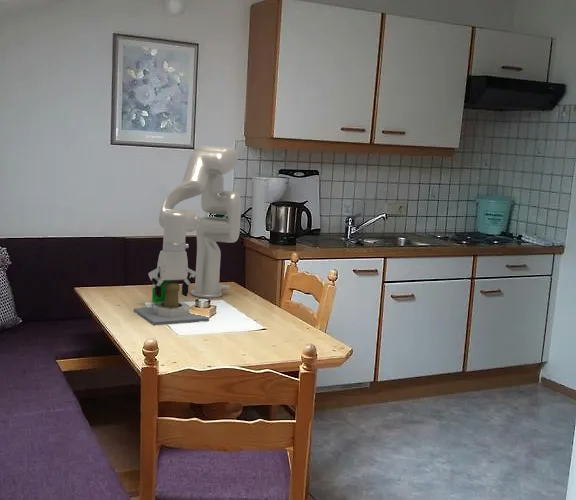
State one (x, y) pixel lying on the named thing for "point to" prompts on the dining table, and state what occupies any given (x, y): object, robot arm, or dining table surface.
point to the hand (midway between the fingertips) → (171, 296)
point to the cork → (171, 295)
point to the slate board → (159, 320)
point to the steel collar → (170, 310)
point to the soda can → (163, 292)
